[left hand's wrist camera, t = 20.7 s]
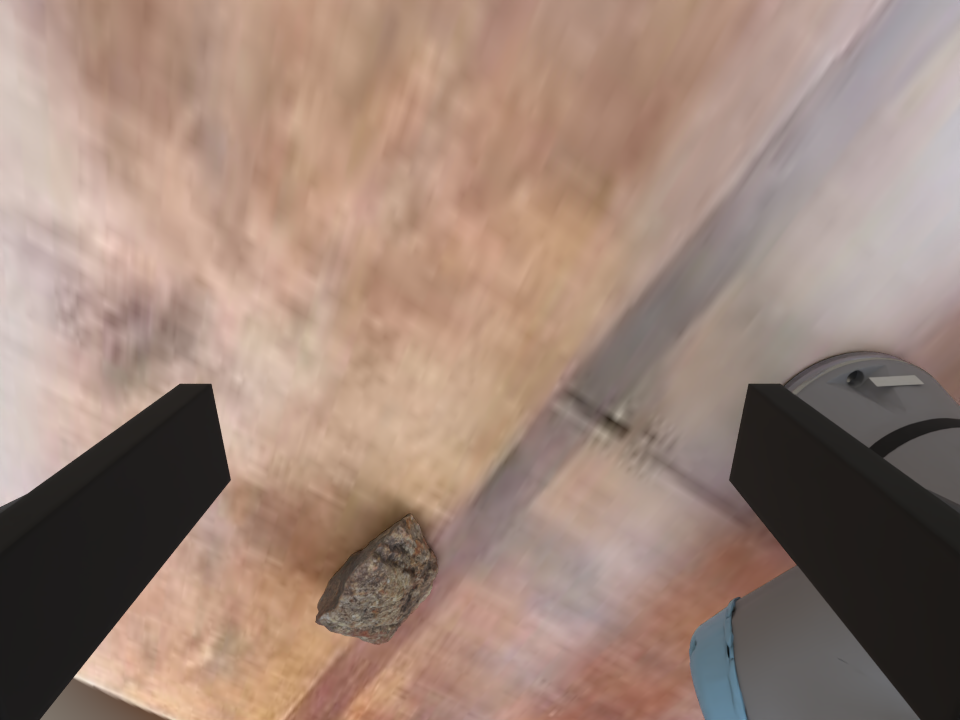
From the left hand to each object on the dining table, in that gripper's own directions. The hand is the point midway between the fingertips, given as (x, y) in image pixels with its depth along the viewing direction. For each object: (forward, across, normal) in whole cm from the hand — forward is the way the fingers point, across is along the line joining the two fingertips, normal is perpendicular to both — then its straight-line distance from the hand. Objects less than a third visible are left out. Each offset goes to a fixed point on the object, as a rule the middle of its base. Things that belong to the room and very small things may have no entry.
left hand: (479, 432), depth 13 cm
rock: (+29, +9, +30) cm, 43 cm away
